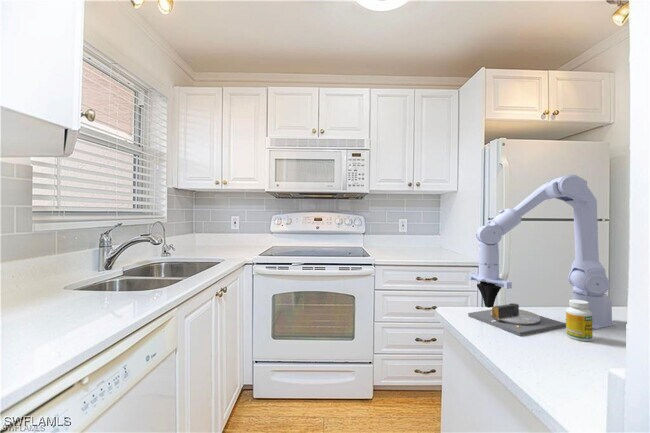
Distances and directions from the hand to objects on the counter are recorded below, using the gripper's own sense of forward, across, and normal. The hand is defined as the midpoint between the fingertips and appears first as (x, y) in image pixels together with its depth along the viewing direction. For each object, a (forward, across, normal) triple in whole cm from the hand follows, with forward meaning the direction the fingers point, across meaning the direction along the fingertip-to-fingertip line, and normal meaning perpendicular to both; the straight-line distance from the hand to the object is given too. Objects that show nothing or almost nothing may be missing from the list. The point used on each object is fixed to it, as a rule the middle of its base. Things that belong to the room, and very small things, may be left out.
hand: (489, 306), depth 100 cm
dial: (+2, +5, +3) cm, 7 cm away
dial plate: (+3, +6, +4) cm, 8 cm away
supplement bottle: (+4, +21, +8) cm, 23 cm away
